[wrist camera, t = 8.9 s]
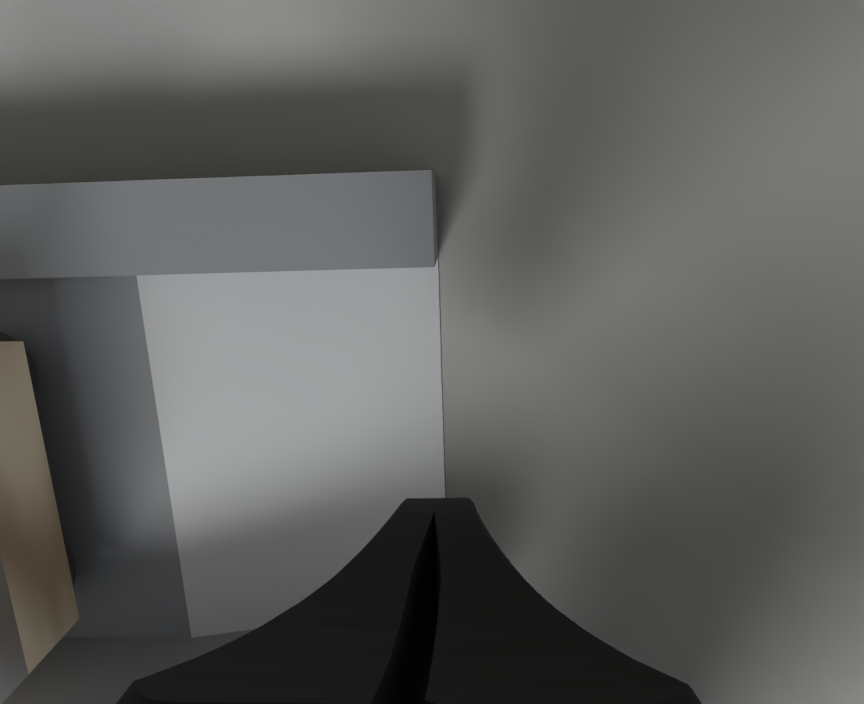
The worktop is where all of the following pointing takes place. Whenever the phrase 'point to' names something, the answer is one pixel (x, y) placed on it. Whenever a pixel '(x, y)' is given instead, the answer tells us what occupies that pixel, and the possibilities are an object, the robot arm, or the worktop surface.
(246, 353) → the loading dock
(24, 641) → the footed beige box
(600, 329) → the worktop surface
